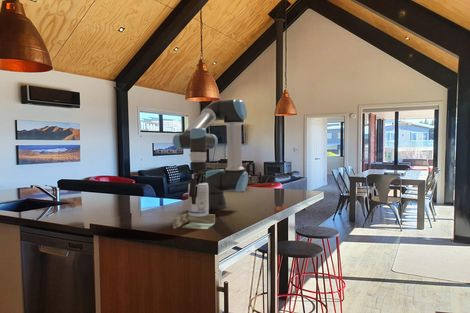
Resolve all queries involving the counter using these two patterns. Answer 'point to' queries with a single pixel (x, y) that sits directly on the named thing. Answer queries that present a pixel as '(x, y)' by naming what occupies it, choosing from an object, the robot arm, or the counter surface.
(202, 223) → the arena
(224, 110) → the robot arm
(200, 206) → the supplement tub
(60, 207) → the counter surface
